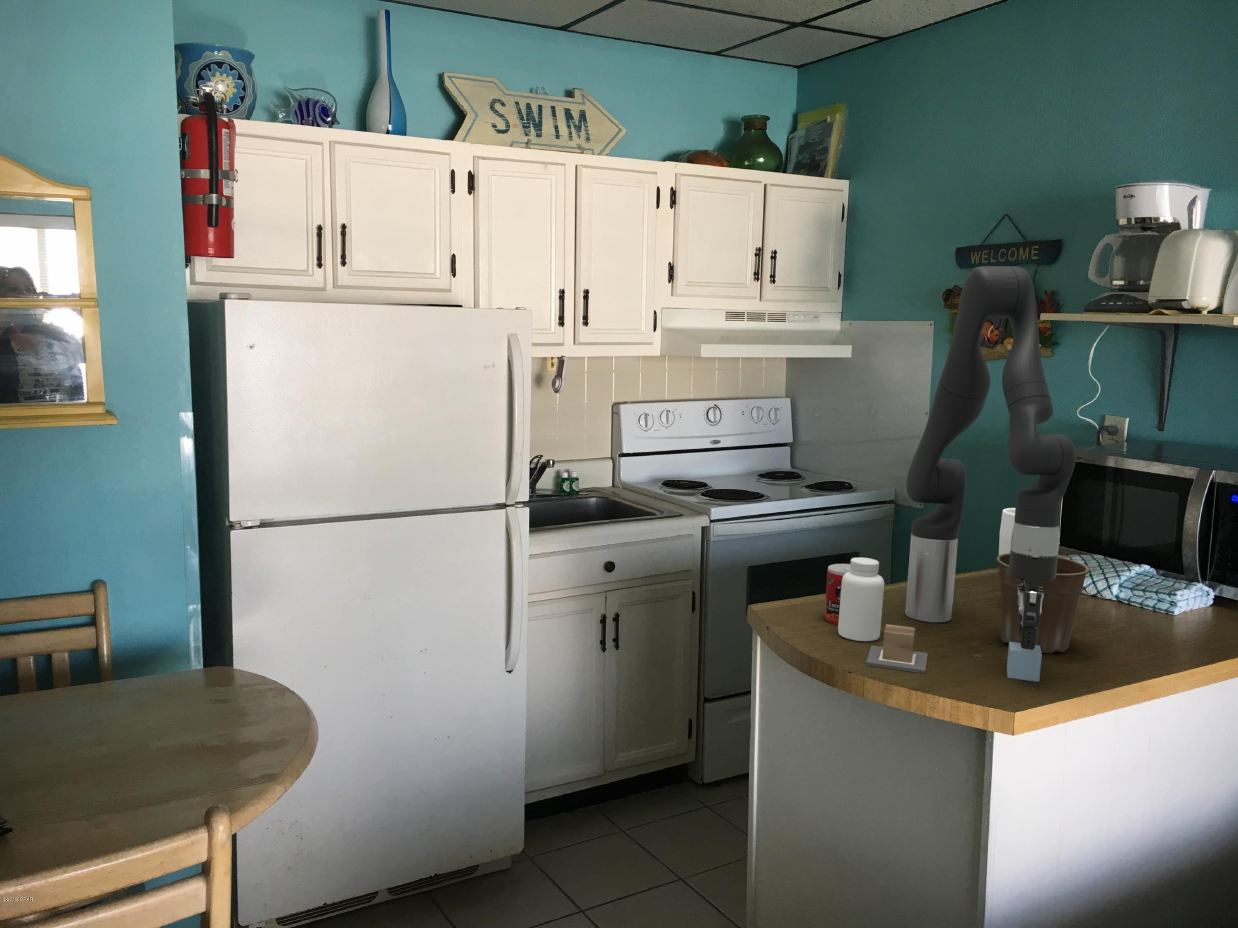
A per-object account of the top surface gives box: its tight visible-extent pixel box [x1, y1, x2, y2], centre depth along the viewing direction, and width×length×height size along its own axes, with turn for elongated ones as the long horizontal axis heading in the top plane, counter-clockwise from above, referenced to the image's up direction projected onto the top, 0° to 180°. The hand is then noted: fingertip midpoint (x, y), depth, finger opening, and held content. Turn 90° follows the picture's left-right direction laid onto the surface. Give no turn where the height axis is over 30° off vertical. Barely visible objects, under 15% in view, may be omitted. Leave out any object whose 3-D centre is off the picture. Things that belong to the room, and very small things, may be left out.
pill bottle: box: [837, 557, 885, 642], centre depth 188 cm, size 8×8×15 cm
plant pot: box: [996, 553, 1090, 654], centre depth 187 cm, size 16×16×16 cm
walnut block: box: [882, 624, 916, 663], centre depth 175 cm, size 5×5×5 cm
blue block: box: [1006, 642, 1043, 683], centre depth 170 cm, size 5×5×5 cm
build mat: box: [865, 645, 929, 675], centre depth 175 cm, size 10×10×1 cm
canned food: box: [824, 563, 851, 626], centre depth 198 cm, size 8×8×11 cm
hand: (1026, 641), depth 169 cm, fingers open, 8 cm apart
